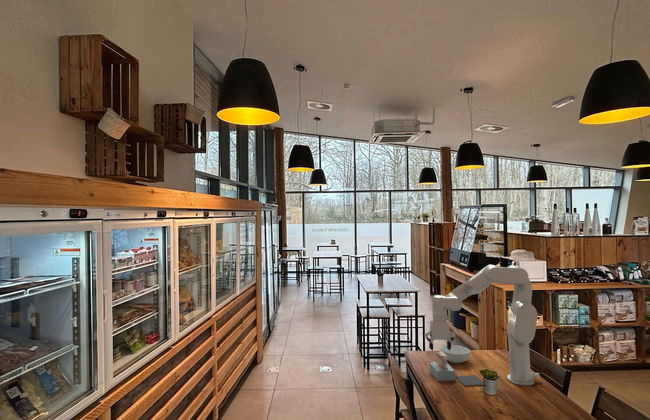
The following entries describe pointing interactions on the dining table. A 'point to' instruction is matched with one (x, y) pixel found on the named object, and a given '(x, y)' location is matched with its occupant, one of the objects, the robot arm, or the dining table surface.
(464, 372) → the dining table surface
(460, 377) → the mat
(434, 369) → the dispenser
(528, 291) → the robot arm
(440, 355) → the cream tall block
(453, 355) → the cereal bowl
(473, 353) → the dining table surface
